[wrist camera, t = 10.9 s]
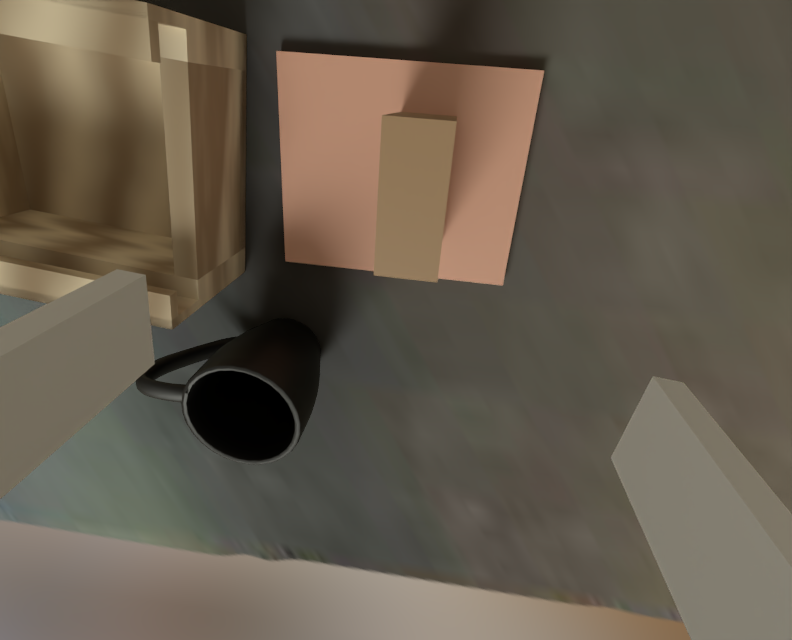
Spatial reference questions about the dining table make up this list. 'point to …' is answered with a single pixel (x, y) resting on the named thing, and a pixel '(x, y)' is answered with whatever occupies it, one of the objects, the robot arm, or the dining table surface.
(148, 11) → the birch box
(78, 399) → the robot arm
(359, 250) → the cover plate
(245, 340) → the mug
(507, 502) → the dining table surface
